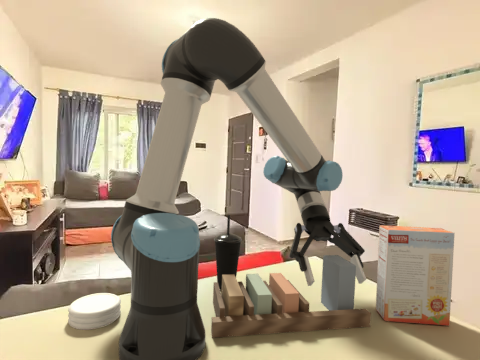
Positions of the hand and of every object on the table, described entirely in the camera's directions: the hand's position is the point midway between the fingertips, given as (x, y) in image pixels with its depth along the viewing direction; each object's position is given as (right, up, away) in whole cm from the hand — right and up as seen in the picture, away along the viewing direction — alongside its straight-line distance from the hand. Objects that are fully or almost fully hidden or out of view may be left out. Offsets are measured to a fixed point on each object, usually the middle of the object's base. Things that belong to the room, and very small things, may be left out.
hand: (337, 282), depth 70 cm
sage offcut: (-20, -6, -4) cm, 21 cm away
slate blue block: (-1, -6, -1) cm, 6 cm away
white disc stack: (-55, -5, -8) cm, 55 cm away
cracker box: (+16, -7, -3) cm, 18 cm away
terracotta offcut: (-14, -6, -3) cm, 15 cm away
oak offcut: (-26, -5, -5) cm, 27 cm away
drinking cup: (-27, -5, +10) cm, 30 cm away
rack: (-14, -6, -3) cm, 15 cm away
